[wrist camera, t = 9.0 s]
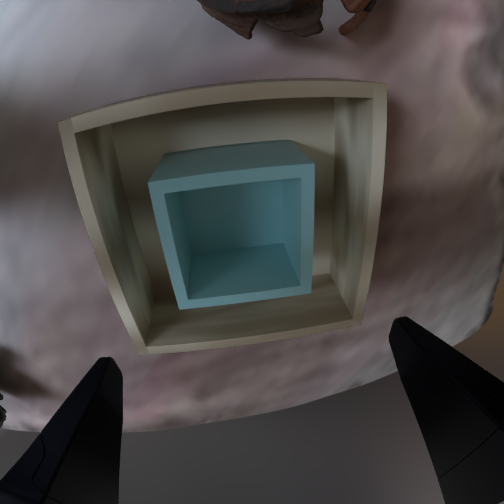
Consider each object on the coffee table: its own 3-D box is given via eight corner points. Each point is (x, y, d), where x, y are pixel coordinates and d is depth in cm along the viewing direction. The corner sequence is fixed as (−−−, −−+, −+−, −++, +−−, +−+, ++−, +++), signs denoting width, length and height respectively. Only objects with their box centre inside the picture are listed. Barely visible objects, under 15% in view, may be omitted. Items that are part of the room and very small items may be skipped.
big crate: (99, 106, 15) (57, 122, 10) (340, 78, 16) (386, 83, 11) (150, 298, 22) (139, 354, 18) (335, 274, 23) (361, 324, 19)
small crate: (184, 257, 20) (179, 309, 16) (164, 153, 16) (147, 182, 12) (291, 244, 21) (311, 292, 16) (288, 139, 17) (314, 163, 13)
